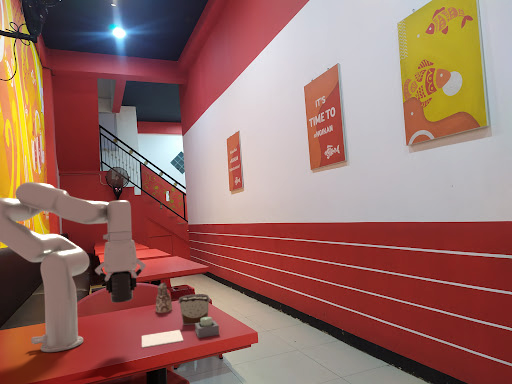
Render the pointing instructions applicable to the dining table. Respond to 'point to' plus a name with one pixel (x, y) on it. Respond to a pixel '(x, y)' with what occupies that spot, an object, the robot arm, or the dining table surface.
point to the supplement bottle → (121, 286)
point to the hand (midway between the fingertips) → (121, 290)
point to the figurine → (163, 299)
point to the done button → (206, 321)
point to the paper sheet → (161, 338)
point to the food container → (194, 308)
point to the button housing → (207, 330)
